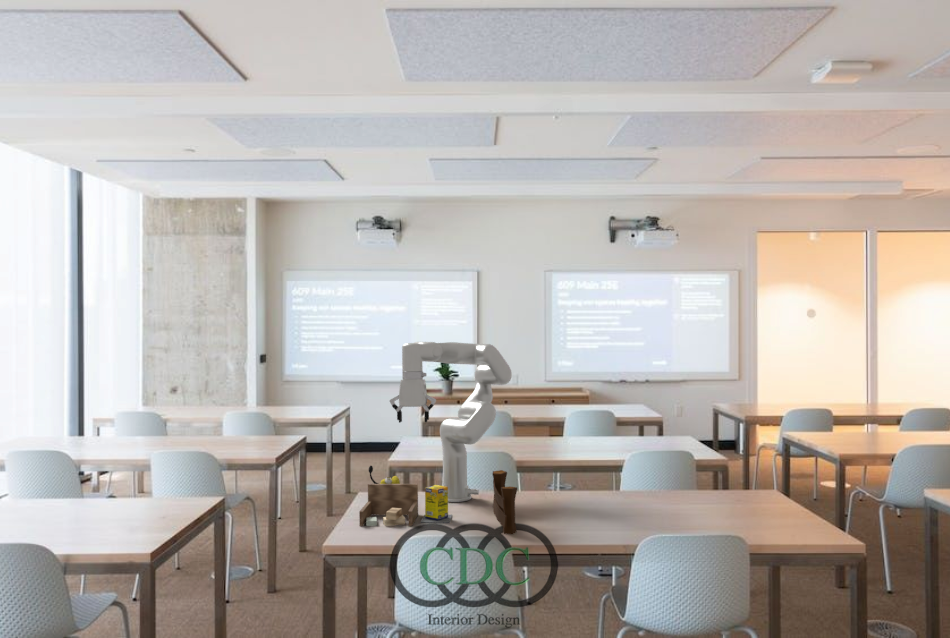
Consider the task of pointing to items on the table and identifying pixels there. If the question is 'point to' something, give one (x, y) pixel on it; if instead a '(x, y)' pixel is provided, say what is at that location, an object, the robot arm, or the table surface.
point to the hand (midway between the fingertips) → (413, 422)
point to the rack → (391, 501)
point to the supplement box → (436, 502)
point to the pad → (445, 520)
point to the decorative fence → (504, 502)
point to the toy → (385, 481)
